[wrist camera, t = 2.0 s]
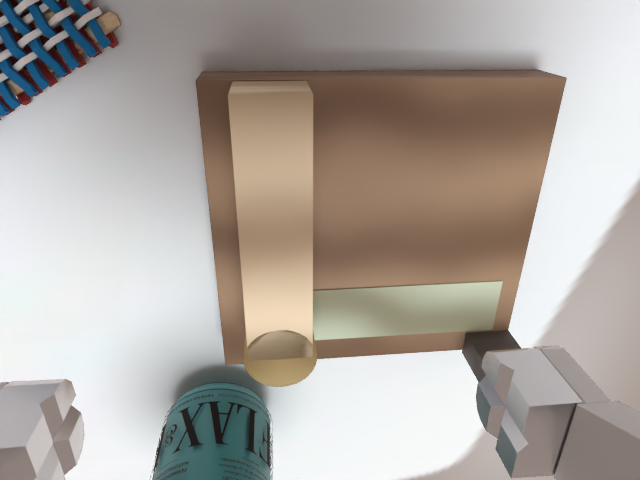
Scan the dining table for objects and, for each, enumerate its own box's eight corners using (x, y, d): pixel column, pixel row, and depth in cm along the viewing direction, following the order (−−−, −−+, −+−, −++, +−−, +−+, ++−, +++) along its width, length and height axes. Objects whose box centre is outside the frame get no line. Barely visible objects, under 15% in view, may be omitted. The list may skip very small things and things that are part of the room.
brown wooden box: (202, 71, 22) (185, 93, 17) (537, 69, 23) (610, 89, 18) (228, 338, 29) (221, 409, 24) (485, 323, 30) (528, 386, 25)
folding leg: (311, 344, 26) (316, 384, 23) (247, 348, 26) (246, 389, 23) (311, 80, 20) (318, 94, 17) (227, 81, 19) (221, 94, 17)
